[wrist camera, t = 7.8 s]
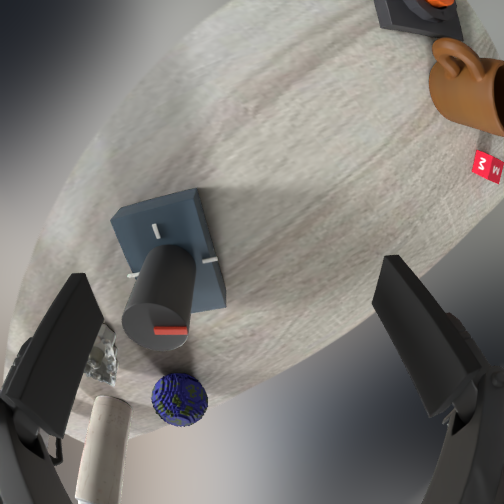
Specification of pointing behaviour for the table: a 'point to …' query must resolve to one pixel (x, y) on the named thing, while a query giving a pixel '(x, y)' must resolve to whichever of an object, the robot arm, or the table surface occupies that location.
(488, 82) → the mug
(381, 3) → the push button switch
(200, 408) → the ball
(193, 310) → the dial panel
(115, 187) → the table surface
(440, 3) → the round orange button
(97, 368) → the grey jagged hollow block
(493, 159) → the dice
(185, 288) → the temp dial
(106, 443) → the thermos bottle
